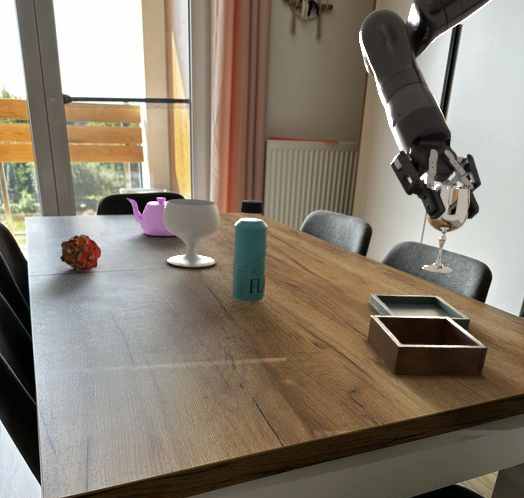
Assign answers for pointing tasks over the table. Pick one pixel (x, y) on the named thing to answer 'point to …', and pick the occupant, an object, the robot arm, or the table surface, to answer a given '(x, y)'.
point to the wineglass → (449, 218)
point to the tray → (417, 307)
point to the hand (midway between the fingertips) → (455, 215)
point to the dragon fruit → (80, 252)
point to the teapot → (152, 217)
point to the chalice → (191, 227)
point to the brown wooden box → (426, 346)
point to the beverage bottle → (249, 254)
